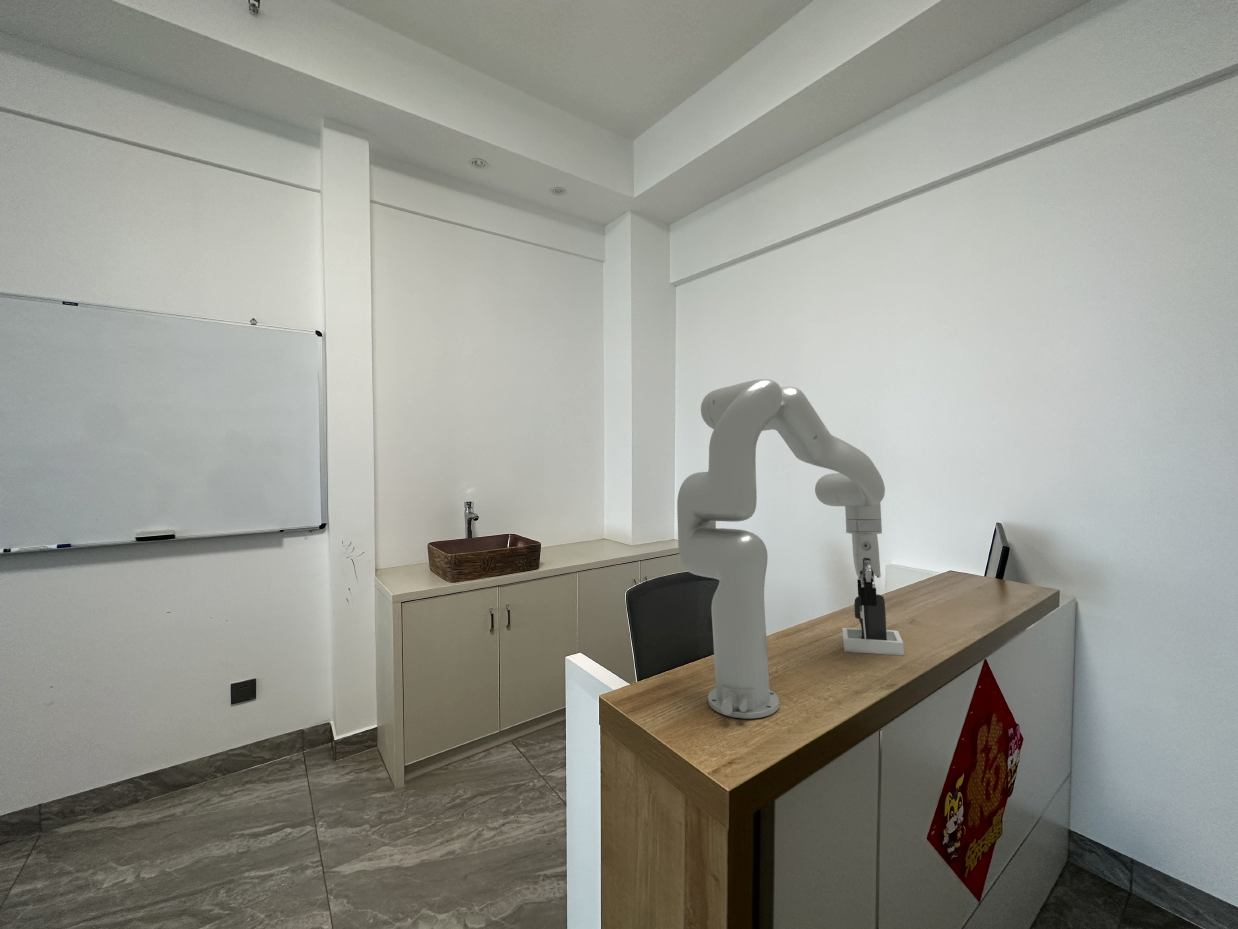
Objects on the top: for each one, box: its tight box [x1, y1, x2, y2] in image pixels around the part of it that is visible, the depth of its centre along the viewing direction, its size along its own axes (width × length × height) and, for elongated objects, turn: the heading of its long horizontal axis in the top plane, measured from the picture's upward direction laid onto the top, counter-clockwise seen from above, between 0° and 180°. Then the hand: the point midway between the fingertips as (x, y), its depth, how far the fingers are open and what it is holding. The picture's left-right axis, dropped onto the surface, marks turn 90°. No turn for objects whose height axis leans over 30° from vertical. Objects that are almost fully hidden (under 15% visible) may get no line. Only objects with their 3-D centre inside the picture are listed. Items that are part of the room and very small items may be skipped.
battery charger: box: [853, 593, 887, 640], centre depth 119 cm, size 7×4×11 cm, turn 118°
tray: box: [841, 627, 905, 657], centre depth 118 cm, size 9×12×3 cm
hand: (867, 600), depth 118 cm, fingers open, 9 cm apart
